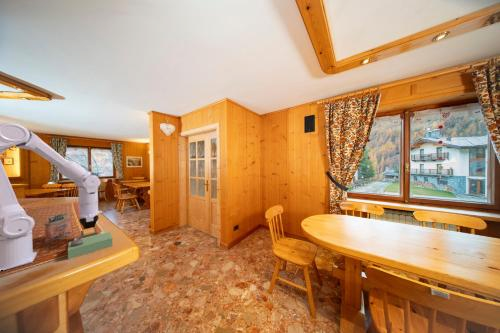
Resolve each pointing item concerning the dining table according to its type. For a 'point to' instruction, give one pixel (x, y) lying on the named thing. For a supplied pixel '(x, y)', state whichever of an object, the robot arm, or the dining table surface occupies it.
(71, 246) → the deck
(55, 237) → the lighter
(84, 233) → the grey box orange face
